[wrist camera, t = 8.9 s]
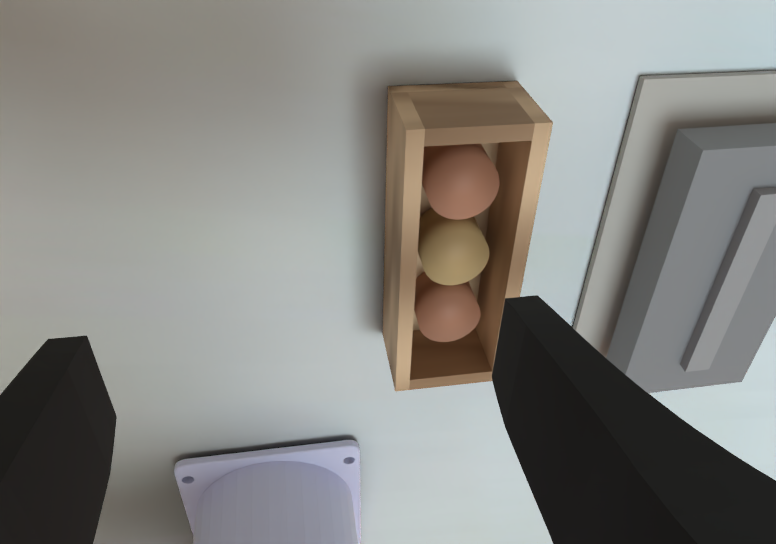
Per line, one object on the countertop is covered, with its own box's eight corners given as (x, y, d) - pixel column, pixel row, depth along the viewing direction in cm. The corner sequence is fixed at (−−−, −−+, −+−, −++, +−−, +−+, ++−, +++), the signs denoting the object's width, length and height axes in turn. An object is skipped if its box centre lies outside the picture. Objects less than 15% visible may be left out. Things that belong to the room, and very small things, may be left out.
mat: (721, 364, 30) (725, 369, 29) (557, 382, 29) (560, 387, 28) (865, 66, 21) (872, 70, 21) (639, 76, 20) (644, 79, 20)
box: (481, 324, 26) (503, 379, 23) (382, 333, 25) (395, 391, 23) (517, 81, 19) (552, 122, 17) (387, 86, 19) (406, 130, 17)
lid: (713, 346, 28) (747, 389, 26) (596, 359, 28) (622, 404, 26) (819, 112, 22) (875, 145, 20) (668, 121, 21) (710, 156, 19)
